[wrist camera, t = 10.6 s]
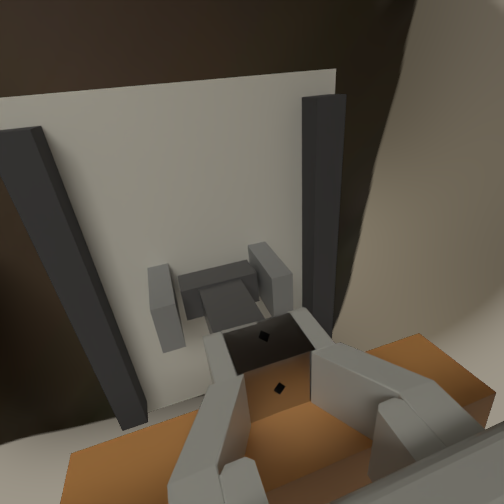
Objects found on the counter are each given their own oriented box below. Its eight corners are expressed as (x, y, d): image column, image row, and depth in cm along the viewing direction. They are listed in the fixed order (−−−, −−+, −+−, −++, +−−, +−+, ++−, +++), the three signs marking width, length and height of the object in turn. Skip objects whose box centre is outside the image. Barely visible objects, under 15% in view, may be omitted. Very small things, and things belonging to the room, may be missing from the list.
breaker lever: (107, 288, 14) (41, 590, 5) (302, 242, 17) (496, 392, 8) (119, 323, 15) (81, 635, 6) (303, 274, 18) (479, 444, 8)
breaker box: (26, 97, 16) (-91, 103, 8) (282, 74, 19) (389, 62, 11) (125, 352, 24) (120, 481, 16) (289, 305, 28) (351, 393, 20)
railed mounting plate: (-3, 130, 11) (-20, 134, 10) (329, 94, 14) (346, 94, 13) (123, 409, 19) (122, 430, 18) (319, 345, 22) (330, 359, 21)
